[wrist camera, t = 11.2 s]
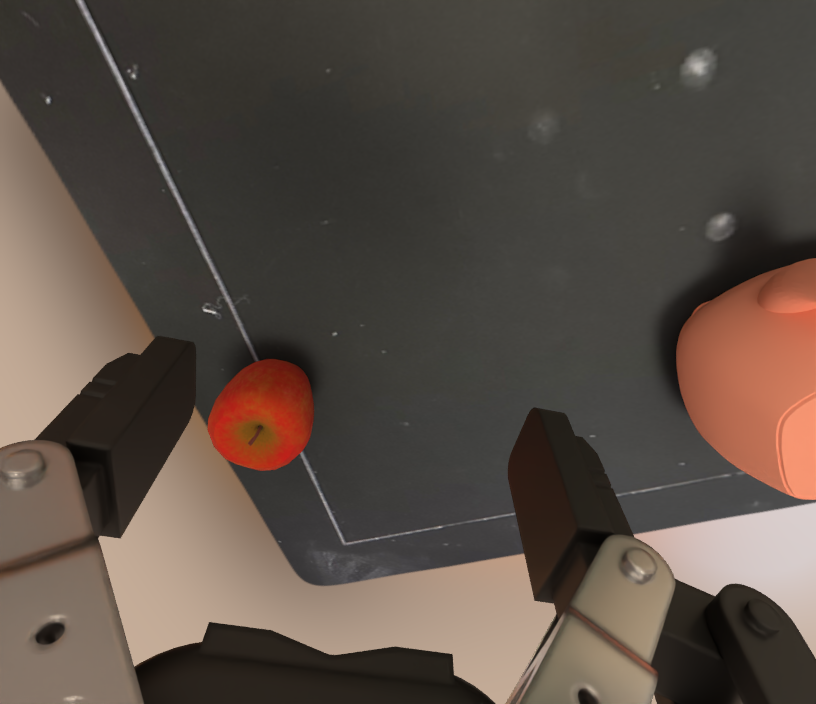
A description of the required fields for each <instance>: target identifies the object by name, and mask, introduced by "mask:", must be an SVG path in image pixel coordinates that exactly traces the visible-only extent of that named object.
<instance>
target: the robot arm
mask: <svg viewBox="0 0 816 704" xmlns="http://www.w3.org/2000/svg"><path fill="white" fill-rule="evenodd" d="M195 398H196V347H195V344H194V343H193V342H189V341H184V340H179V339H173V338H168V337H163V336H157V337H156V338H155V339H154V340H153V341H152V342H151V343H150V345H149V346H148V347H147V348H146V349H145V350H144V352H143V353H142V354H141V355H138V354H132V353H127V354H125V355H123V356H121V357H119V358H117V359H115V360H113V361H112V362H109V363H107V364H106V365H105V366H104V367H103V368H102V369H101V370H100V371H99V372H98V374H97V375H96V376H95V377H94V378H93V380H92V382H89V383H88V384H87V385H86V386H85V387H84V388H83V389H82V390H81V393H80V395H79V394H78V395H77V396H76V397H75V398H74V399H73V400H72V401H71V402H70V403H69V404H68V405H67V406H66V407H65V408H64V409H63V410H62V411H61V413H60V414H59V415H58V416H57V417H56V418H55V419H54V420H53V421H52V422H51V423H50V424H49V425H48V426H47V427H46V428H45V429H44V430H43V431H42V432H41V434H40V435H39V436H38V437H37V438H36V439H35V440H29V441H22V442H17V443H14V444H10V445H7V446H5V447H2V448H0V704H495V703H494V702H493V701H492V700H491V699H490V698H489V697H488V696H487V695H486V694H484V693H483V692H482V691H480V690H479V689H478V688H476V687H475V686H473V685H472V684H470V683H468V682H466V681H465V680H463V679H461V678H459V677H457V676H455V675H454V671H453V655H452V654H447V653H439V652H432V651H424V650H417V649H409V648H401V647H389V648H382V649H376V650H368V651H362V652H355V653H348V654H341V655H329V654H326V653H324V652H321V651H319V650H317V649H314V648H312V647H309V646H307V645H305V644H302V643H300V642H297V641H295V640H293V639H290V638H288V637H286V636H283V635H281V634H279V633H276V632H274V631H271V630H265V629H257V628H249V627H242V626H235V625H227V624H219V623H212V622H209V624H208V627H207V630H206V633H205V635H204V638H203V641H202V642H199V643H193V644H188V645H184V646H180V647H177V648H173V649H171V650H168V651H165V652H163V653H160V654H157V655H155V656H153V657H152V658H149V659H147V660H145V661H143V662H141V663H139V664H138V665H137V666H135V667H134V665H133V662H132V658H131V654H130V651H129V647H128V644H127V640H126V636H125V633H124V629H123V625H122V622H121V618H120V615H119V611H118V607H117V604H116V600H115V596H114V593H113V589H112V586H111V582H110V578H109V575H108V571H107V568H106V564H105V560H104V557H103V553H102V550H101V546H100V543H99V540H98V537H99V536H100V535H101V536H107V537H114V538H121V536H122V535H123V533H124V532H125V530H126V528H127V526H128V525H129V523H130V521H131V519H132V518H133V516H134V514H135V513H136V511H137V509H138V508H139V506H140V504H141V503H142V501H143V499H144V498H145V496H146V494H147V492H148V491H149V489H150V487H151V486H152V484H153V482H154V481H155V479H156V477H157V475H158V473H159V472H160V470H161V469H162V467H163V465H164V464H165V462H166V460H167V458H168V456H169V455H170V453H171V452H172V450H173V448H174V447H175V445H176V443H177V441H178V440H179V438H180V436H181V435H182V433H183V431H184V429H185V428H186V426H187V424H188V423H189V420H190V418H191V416H192V413H193V409H194V405H195ZM604 472H605V470H604V468H603V466H602V463H601V461H600V459H599V457H598V454H597V453H596V452H595V451H594V450H593V448H592V447H591V446H590V445H589V444H588V443H587V442H586V441H585V440H584V438H583V437H578V436H575V434H574V432H573V430H572V427H571V425H570V422H569V420H568V417H567V416H566V414H564V413H561V412H556V411H550V410H545V409H540V408H533V409H531V411H530V412H529V414H528V416H527V418H526V420H525V423H524V425H523V427H522V430H521V432H520V434H519V436H518V439H517V441H516V443H515V445H514V448H513V450H512V452H511V455H510V458H509V463H508V480H509V485H510V489H511V494H512V499H513V503H514V508H515V512H516V517H517V522H518V526H519V531H520V535H521V540H522V545H523V549H524V554H525V559H526V563H527V568H528V572H529V577H530V582H531V586H532V591H533V595H534V600H535V601H540V602H548V603H554V605H555V609H556V613H557V614H556V616H555V618H554V619H553V621H552V622H551V624H550V626H549V628H548V629H547V631H546V633H545V635H544V636H543V638H542V640H541V642H540V644H539V645H538V647H537V649H536V651H535V653H534V654H533V656H532V658H531V660H530V662H529V663H528V665H527V667H526V669H525V671H524V672H523V674H522V676H521V678H520V679H519V681H518V683H517V685H516V687H515V688H514V690H513V692H512V693H511V695H510V697H509V699H508V700H507V702H506V704H651V702H652V699H653V695H655V699H656V702H657V704H816V659H815V657H814V655H813V654H812V652H811V650H810V649H809V647H808V645H807V644H806V642H805V640H804V639H803V637H802V635H801V634H800V632H799V630H798V629H797V627H796V625H795V624H794V623H793V621H792V620H791V618H790V617H789V616H788V615H787V614H786V613H785V612H784V610H783V609H782V608H781V607H779V606H778V605H777V604H776V603H775V602H774V601H772V600H771V599H770V598H768V597H767V596H766V595H764V594H762V593H761V592H759V591H757V590H755V589H753V588H751V587H748V586H745V585H741V584H729V585H726V586H725V587H724V588H723V589H722V590H721V591H720V592H719V593H718V594H717V595H716V596H713V595H710V594H708V593H706V592H704V591H701V590H699V589H696V588H694V587H692V586H690V585H687V584H685V583H683V582H680V581H678V580H677V579H675V578H674V575H673V573H672V571H671V569H670V567H669V565H668V564H667V563H666V561H665V560H664V559H663V558H662V557H661V555H660V554H659V553H657V552H656V551H655V550H654V549H653V548H652V547H650V546H649V545H647V544H646V543H644V542H642V541H640V540H638V539H636V538H634V535H633V533H632V531H631V529H630V526H629V524H628V522H627V520H626V517H625V515H624V513H623V511H622V508H621V506H620V504H619V502H618V499H617V497H616V495H615V493H614V490H613V488H611V484H610V481H609V479H608V477H607V475H606V474H604Z"/></svg>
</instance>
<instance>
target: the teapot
mask: <svg viewBox="0 0 816 704" xmlns="http://www.w3.org/2000/svg"><path fill="white" fill-rule="evenodd" d="M676 363H677V374H678V381H679V386H680V391H681V395H682V398H683V401H684V404H685V407H686V409H687V411H688V413H689V416H690V418H691V420H692V422H693V423H694V425H695V427H696V429H697V430H698V431H699V433H700V434H701V435H702V437H703V438H704V439H705V440H706V441H707V442H708V443H709V444H710V445H711V446H712V447H713V448H714V449H715V450H716V451H717V452H719V453H720V454H721V455H722V456H723V457H724V458H725V459H726V460H728V461H729V462H730V463H732V464H733V465H735V466H736V467H737V468H739V469H741V470H742V471H744V472H746V473H747V474H749V475H751V476H752V477H754V478H756V479H758V480H760V481H762V482H764V483H765V484H767V485H769V486H771V487H773V488H775V489H777V490H779V491H781V492H784V493H786V494H788V495H790V496H793V497H795V498H799V499H810V500H812V499H814V500H816V258H812V259H806V260H803V261H799V262H796V263H794V264H792V265H788V266H785V267H781V268H778V269H775V270H772V271H769V272H766V273H763V274H761V275H758V276H756V277H754V278H751V279H749V280H747V281H745V282H743V283H741V284H739V285H737V286H735V287H733V288H732V289H730V290H728V291H726V292H725V293H723V294H721V295H720V296H718V297H716V298H715V299H713V300H711V301H708V302H705V303H703V304H701V305H700V306H698V307H697V308H696V309H695V310H694V312H693V313H692V315H691V317H690V318H689V319H688V320H687V321H686V323H685V324H684V325H683V327H682V329H681V331H680V334H679V338H678V343H677V349H676Z"/></svg>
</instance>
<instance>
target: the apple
mask: <svg viewBox="0 0 816 704" xmlns="http://www.w3.org/2000/svg"><path fill="white" fill-rule="evenodd" d="M313 419H314V403H313V397H312V391H311V386H310V383H309V380H308V377H307V376H306V374H305V373H304V371H303V370H302V369H301V368H300V367H298V366H297V365H295V364H292V363H290V362H287V361H283V360H277V359H265V360H261V361H257V362H255V363H253V364H251V365H249V366H247V367H245V368H243V369H242V370H241V371H240V372H239V373H238V374H237V375H236V376H235V377H234V378H233V379H232V380H231V381H230V382H229V383H228V384H227V385H226V387H225V388H224V389H223V391H222V392H221V394H220V395H219V396H218V398H217V399H216V401H215V404H214V406H213V408H212V411H211V413H210V416H209V419H208V432H209V435H210V437H211V440H212V443H213V445H214V447H215V448H216V449H217V451H218V452H219V453H220V454H221V455H222V456H223V457H224V458H225V459H227V460H229V461H231V462H233V463H235V464H237V465H241V466H245V467H248V468H252V469H256V470H259V471H260V470H275V469H277V468H280V467H282V466H284V465H286V464H288V463H289V462H291V461H292V460H293V459H294V458H295V457H296V456H297V455H298V454H299V453H301V452H302V451H303V449H304V448H305V446H306V444H307V442H308V441H309V439H310V435H311V430H312V426H313Z"/></svg>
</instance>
